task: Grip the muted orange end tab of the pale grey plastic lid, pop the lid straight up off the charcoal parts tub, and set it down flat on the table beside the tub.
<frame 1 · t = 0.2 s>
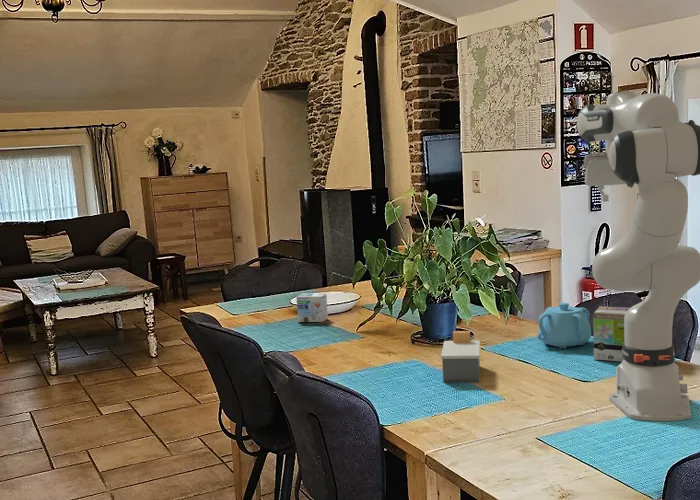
hand: (622, 200, 216), 48 cm above the table, fingers open, 8 cm apart
decorative pot: (564, 344, 249), on the table
tea box: (622, 358, 229), on the table
light bulb box: (313, 321, 305), on the table
lid: (461, 353, 222), point 6 cm above the table, touching tub
tub: (462, 374, 223), on the table
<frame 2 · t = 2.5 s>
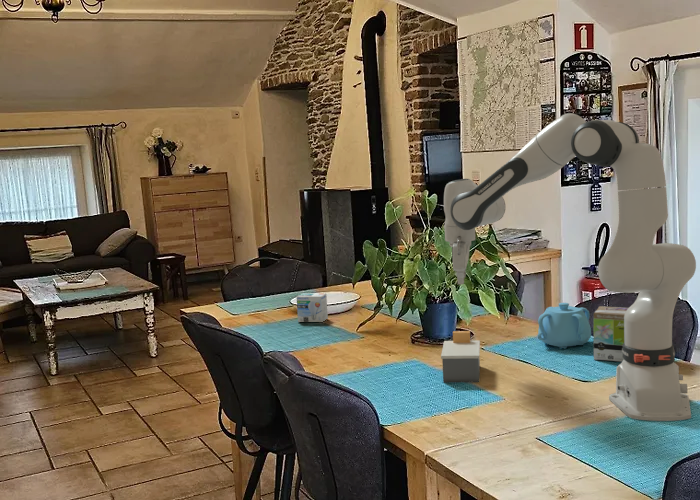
hand: (461, 280, 227), 26 cm above the table, fingers open, 8 cm apart
nothing on the table moved.
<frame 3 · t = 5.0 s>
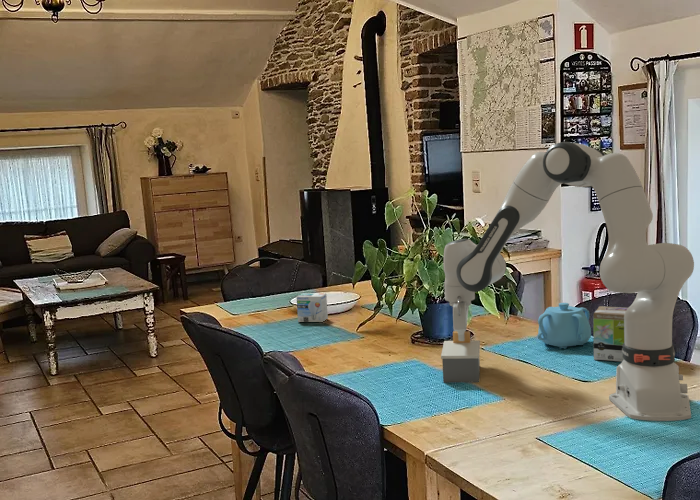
hand: (461, 339, 229), 9 cm above the table, fingers closed on lid
lid: (461, 353, 222), point 6 cm above the table, touching gripper, tub
everything else where it was.
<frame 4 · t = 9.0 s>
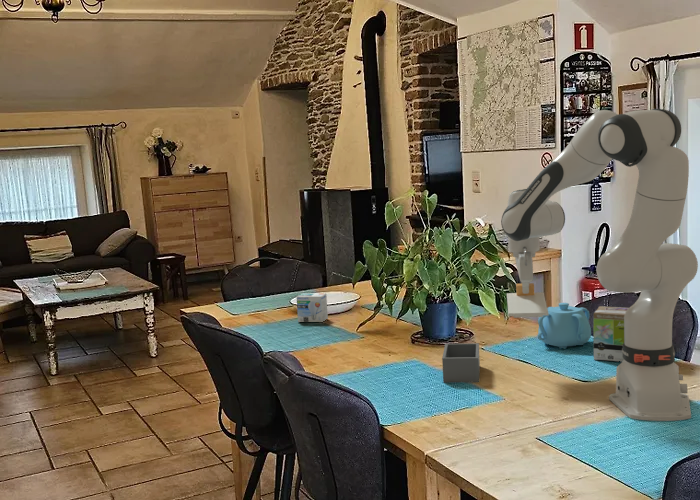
hand: (525, 291, 224), 22 cm above the table, fingers closed on lid, 2 cm apart
lid: (526, 308, 218), point 19 cm above the table, tilted 8°, touching gripper
everything else where it was.
when the fingers open (4 cm above the table, at t = 12.8 s): lid drops 1 cm, on the table.
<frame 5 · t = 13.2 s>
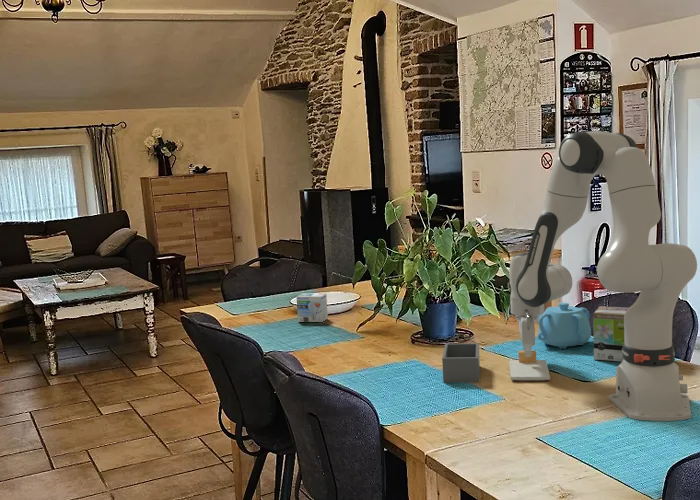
hand: (527, 353, 226), 4 cm above the table, fingers open, 6 cm apart
lid: (528, 374, 220), on the table
everything else where it was.
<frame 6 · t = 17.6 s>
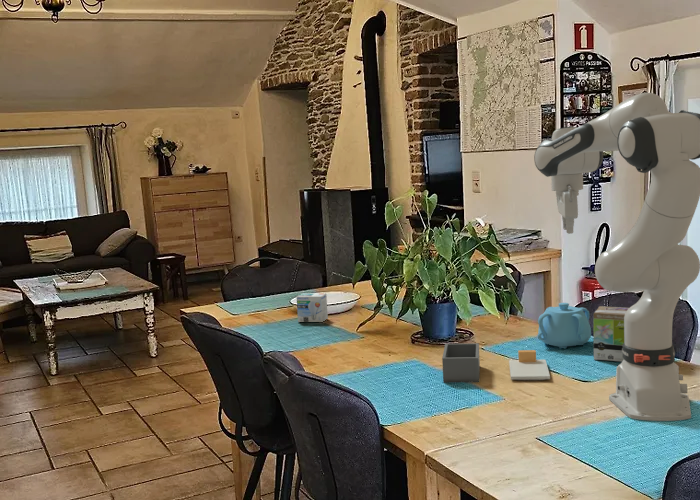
hand: (568, 231, 224), 39 cm above the table, fingers open, 8 cm apart
nothing on the table moved.
at the end: lid inside the target area (1.1 cm from its centre), on the table; lid tilted 0°; the gripper is holding nothing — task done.
